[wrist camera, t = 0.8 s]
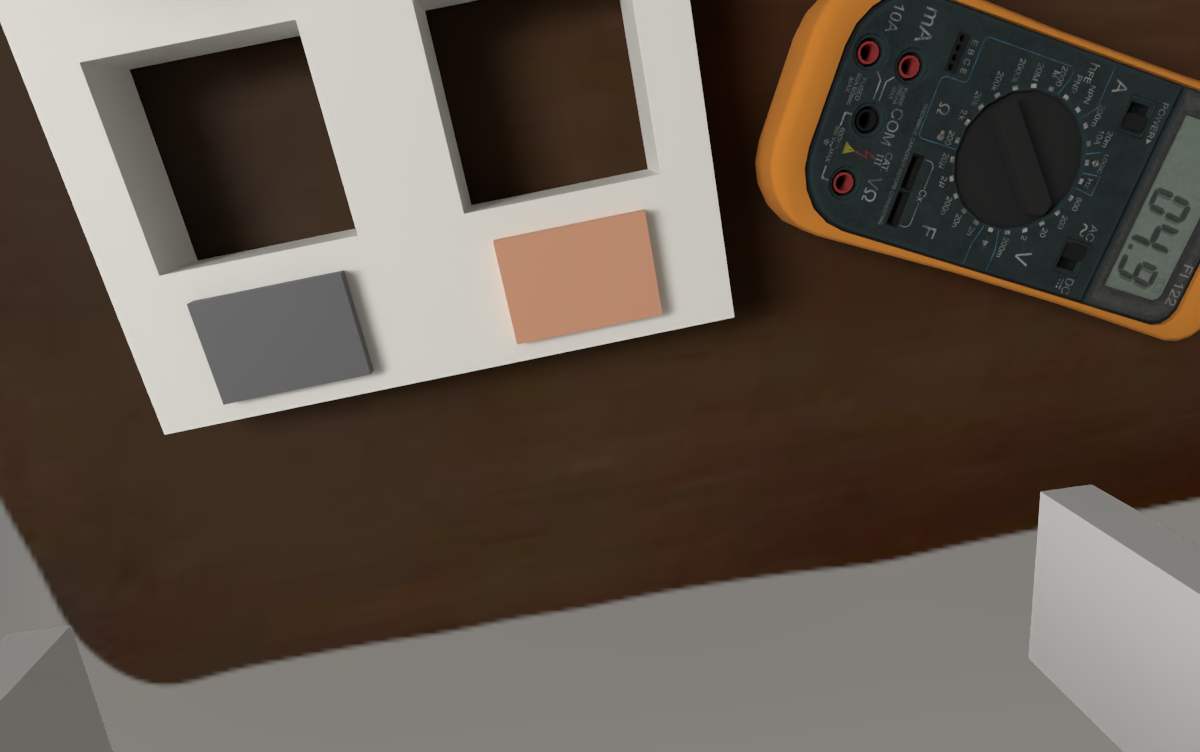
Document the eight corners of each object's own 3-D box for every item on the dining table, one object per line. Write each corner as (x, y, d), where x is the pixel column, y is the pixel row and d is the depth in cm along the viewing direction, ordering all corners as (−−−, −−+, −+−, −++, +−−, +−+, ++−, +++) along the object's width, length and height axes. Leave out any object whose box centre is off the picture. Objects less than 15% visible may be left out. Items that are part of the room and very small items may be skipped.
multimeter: (808, -37, 27) (846, -60, 24) (1241, 119, 30) (1328, 118, 27) (727, 206, 29) (751, 216, 26) (1136, 329, 32) (1204, 353, 29)
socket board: (655, -113, 26) (672, -149, 22) (715, 299, 30) (738, 320, 27) (50, 7, 25) (-24, -11, 22) (200, 405, 30) (157, 440, 26)
